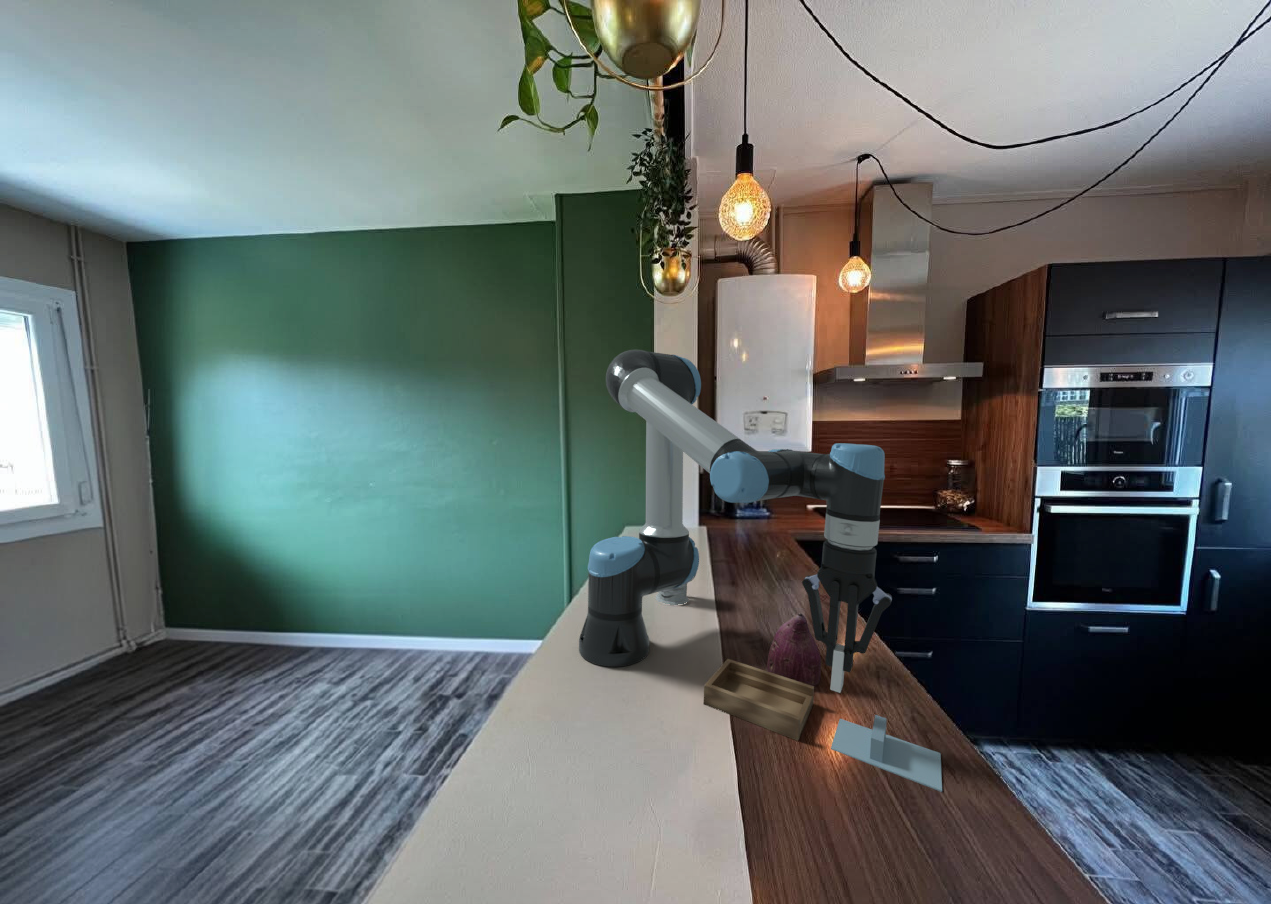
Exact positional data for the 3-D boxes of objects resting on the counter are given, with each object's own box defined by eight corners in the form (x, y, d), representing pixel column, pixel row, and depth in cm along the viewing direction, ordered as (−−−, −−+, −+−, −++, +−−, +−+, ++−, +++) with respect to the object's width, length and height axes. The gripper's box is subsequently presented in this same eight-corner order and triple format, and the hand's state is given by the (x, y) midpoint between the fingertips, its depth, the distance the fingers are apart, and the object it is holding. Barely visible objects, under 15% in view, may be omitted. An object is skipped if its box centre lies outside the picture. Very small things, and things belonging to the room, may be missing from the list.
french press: (651, 592, 130) (654, 507, 129) (691, 592, 131) (694, 507, 130) (657, 606, 120) (660, 514, 119) (699, 605, 122) (702, 514, 120)
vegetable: (822, 705, 84) (842, 641, 79) (765, 690, 86) (782, 627, 81) (814, 664, 94) (832, 605, 89) (763, 652, 96) (778, 593, 91)
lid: (830, 753, 68) (831, 727, 68) (839, 723, 75) (840, 700, 75) (941, 796, 61) (943, 767, 60) (940, 758, 68) (941, 732, 67)
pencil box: (703, 704, 78) (704, 685, 78) (727, 675, 88) (727, 658, 87) (798, 741, 70) (799, 720, 70) (813, 705, 79) (814, 686, 79)
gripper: (800, 540, 70) (789, 683, 72) (896, 558, 63) (880, 716, 65) (811, 530, 76) (800, 663, 78) (899, 546, 69) (884, 690, 71)
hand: (836, 687), depth 72 cm, fingers closed
